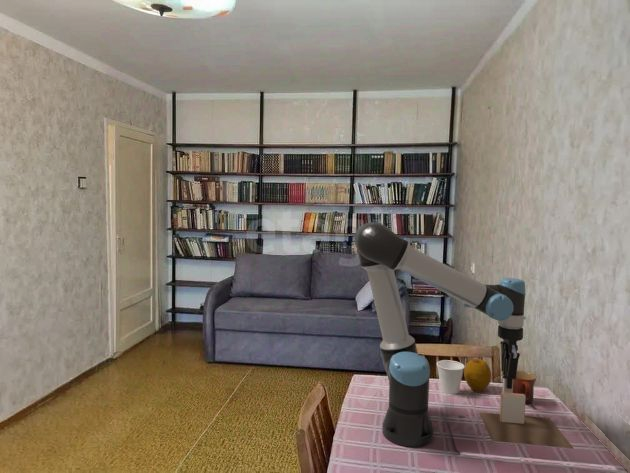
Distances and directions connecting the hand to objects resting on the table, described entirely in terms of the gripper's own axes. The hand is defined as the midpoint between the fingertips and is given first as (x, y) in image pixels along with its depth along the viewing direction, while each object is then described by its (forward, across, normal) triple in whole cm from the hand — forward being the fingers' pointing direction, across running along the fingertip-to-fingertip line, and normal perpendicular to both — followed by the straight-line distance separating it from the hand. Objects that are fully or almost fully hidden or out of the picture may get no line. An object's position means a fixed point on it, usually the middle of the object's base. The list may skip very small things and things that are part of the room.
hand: (507, 396), depth 144 cm
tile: (+6, -6, 0) cm, 8 cm away
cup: (+7, +15, +16) cm, 23 cm away
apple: (+7, +21, +5) cm, 23 cm away
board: (+7, -10, -2) cm, 12 cm away
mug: (+7, +10, -8) cm, 15 cm away
